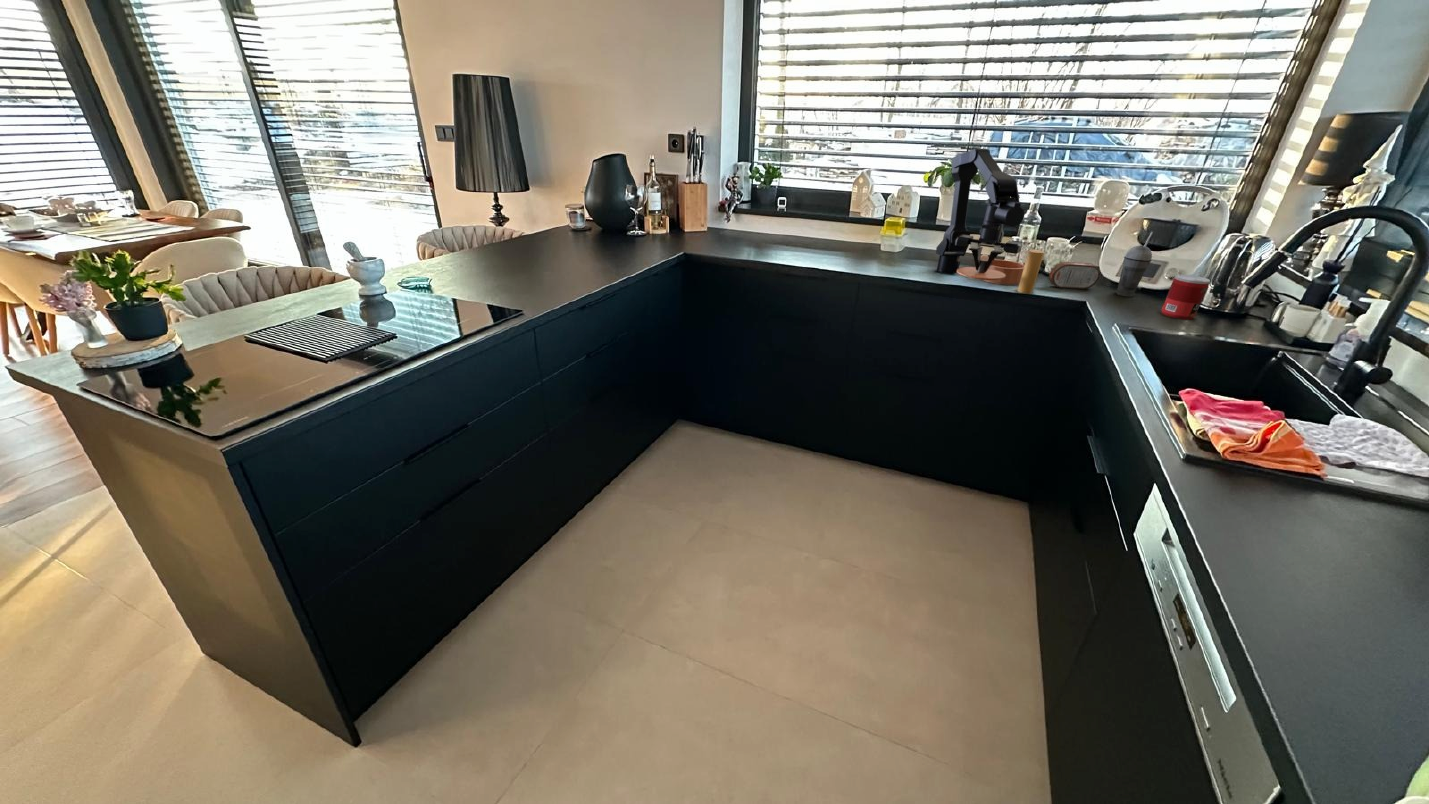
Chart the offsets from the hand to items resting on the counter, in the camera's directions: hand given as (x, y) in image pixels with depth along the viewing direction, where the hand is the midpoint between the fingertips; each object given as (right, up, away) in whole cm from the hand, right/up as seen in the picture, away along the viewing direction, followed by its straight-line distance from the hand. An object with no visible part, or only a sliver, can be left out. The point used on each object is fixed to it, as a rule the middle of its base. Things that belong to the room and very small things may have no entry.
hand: (981, 271), depth 180 cm
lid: (0, -1, 0) cm, 1 cm away
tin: (+33, -4, +6) cm, 34 cm away
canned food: (+48, -18, -19) cm, 54 cm away
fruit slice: (+15, +7, +27) cm, 32 cm away
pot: (+13, 0, +14) cm, 19 cm away
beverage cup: (+47, -8, 0) cm, 47 cm away
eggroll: (+14, -7, +1) cm, 16 cm away
